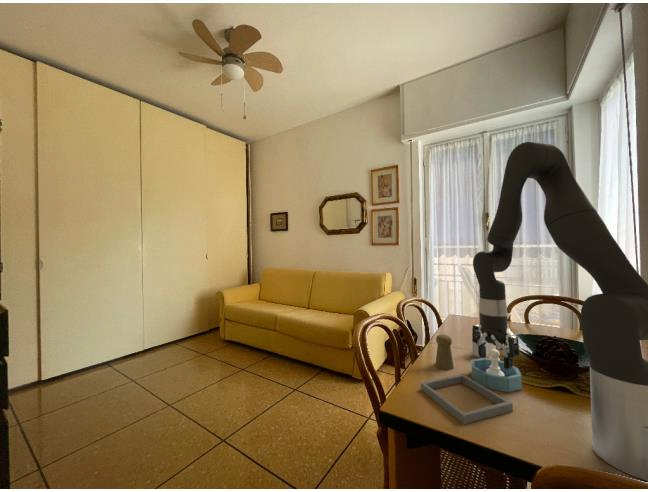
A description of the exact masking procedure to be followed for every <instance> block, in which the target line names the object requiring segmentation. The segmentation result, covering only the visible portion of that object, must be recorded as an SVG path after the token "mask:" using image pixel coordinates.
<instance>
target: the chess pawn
mask: <svg viewBox="0 0 648 492" xmlns="http://www.w3.org/2000/svg"><path fill="white" fill-rule="evenodd" d="M489 354H490V355H489V358H488V359H491V360H492V363H491V365H490V366H489V367H490V368H488V369H487V370H486V373H488V374H493V375H499V376H505V375H504V373H503V372H502V371H501V370H500V367H499V366H498V361H501V359H500V358H499V357H500V355H501V353H500V351H499V350H497V349H495V348H491V350H490V351H489Z"/></svg>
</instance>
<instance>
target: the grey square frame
mask: <svg viewBox="0 0 648 492" xmlns="http://www.w3.org/2000/svg"><path fill="white" fill-rule="evenodd" d="M462 383H463V384H464V385H466V386H467V387H469V388H471V389H472V390H473V391H475V392H478V394H480V395H482V396H483V397H485V398H487V399H489V400H490V401H492V402H493V403H495V404H492V405H488V406H484V407H480V408H476V409H473V410H469V411H466V412H465V411H464V412H463V411H462V410H461V409H460V408H458V407H457V405H454V404H453V403H452V402H450V401H449V400H448V399H446V398H445V397H444V396H443V395H441V394H440V393H439V392H438V391H436V390H434V389H439V388H443V387H448V386H449V387H450V386H454V385H457V384H462ZM420 390H421V391H422V392H423V393H425V394H426V395H427V396H428V397H430V398H431V399H432V400H434V402H436V403H437V404H439V406H441V407H442V408H443V409H444V410H446V411H447V412H448V413H449V414H450V415H452V416H453V417H454V418H455V419H457V420H458V421H459V422H460V423H462V424H463V425H466V424H470V423H475V422H477V421H480V420H485V419H488V418H492V417H497V416H500V415H503V414H507V413H510V412H513V410H514V409H513V402H511V401H509V400H508V399H506V398H504V397H502V396H501V395H499V394H497V393H496V392H494V391H492V390H491V389H490V388H487V387H485V386H483V385H481V384H480V383H478V382H476V381H474V380H473V379H472V378H470V377H468V376H467V375H464V374H456V375H452V376H448V377H443V378H442V377H441V378H437V379H433V380H432V379H431V380H426V381H423V382H420Z"/></svg>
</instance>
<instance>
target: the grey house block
mask: <svg viewBox="0 0 648 492" xmlns="http://www.w3.org/2000/svg"><path fill="white" fill-rule="evenodd" d="M482 335H483V334H482V333H481V336H482ZM476 338H477V336H476ZM471 345H472V349H471V351H472V352H471V353H472V356H475V357H477V358H480V357H479V354H478V345H477V344H476V343H474V342H473V341H472V340H471ZM484 346H486V357H488V356H490V354H489V351H490V350H491V349H492V343H486V345H484Z"/></svg>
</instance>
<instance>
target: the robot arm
mask: <svg viewBox="0 0 648 492" xmlns="http://www.w3.org/2000/svg"><path fill="white" fill-rule="evenodd" d="M528 179H533V180H535V181H536V183H537V184H538V185H539V187H540V189H541V190H542V192H543V195H544V197H545V206H544V209H543V210H544V212H543V222H544V225H545V228H546V230H547V231H548V233H549V235H550V237H551V238H552V241H553V242H554V244H555V245H556V247H557V248H558V249H559V250H560V251H561V252H563V254H565V255H566V256H567V257H569V258H570V260H572V261H574V262H575V263H576V264H577V265H579V267H581V268H583V270H585V271H586V272H587V273H588V274H589V275H590V276H591V277H592V278H593V280H594V281H595V283H596V284H597V286H598V288H599V290H600V291H601V293H596V294H593V295H590V296H588V297H587V298H586V299H585V300H584V301H583V303H582V305H581V309H580V324H581V334H582V342H583V343H582V345H583V348H584V351H585V353H586V356H587V357H588V358H587V359H588V360H589V361H588V362H589V379H590V382H589V383H590V414H591V440H592V442H591V444H592V449H593V452H594V453H595V454H596V455H597V456H598V457H599V458H600V459H602V461H604V462H605V463H607V464H609V465H610V466H612V467H614V468H615V469H617V470H618V471H619V470H620V471H621V472H623V473H625V474H628V475H630V476H633V477H636V478H639V479H642V480H644V481H646V482H647V483H648V359H645V358H644V357H643V353H642V352H643V351H642V346H641V341H648V283H647V281H646V280H645V279H644V278H643V277H642V276H641V275H640V273H639V272H638V271H637V270H636V269H635V267H634V266H633V264H632V263H631V262H630V260H629V258H628V257H627V256H626V254H625V253H624V252H623V250H622V248H621V247H620V245H619V243H618V242H617V241H616V239H615V238H614V236H612V234H611V232H610V230H609V228H608V227H607V225H606V223H605V222H604V219H602V217H601V216H600V214H599V212H598V211H597V209H596V208H595V207H594V206H593V204H592V202H591V201H590V200H589V198H588V197H587V195H586V193H585V191H584V190H583V189H582V187H581V186H580V184H579V183H578V181H577V179H576V177H575V176H574V174H573V171H572V169H571V166H570V165H569V162H568V159H567V157H566V156H565V153H564V152H563V150H562V149H561V148H560V147H559V146H557V145H555V144H552V143H546V142H545V143H544V142H538V141H537V142H536V141H525V142H522V143H520V144H517V146H515V147H514V148H513V149H512V150H511V152H510V154H509V156H508V158H507V161H506V165H505V169H504V174H503V179H502V184H501V188H500V189H501V190H500V195H499V200H498V206H497V209H496V213H495V216H494V218H493V221H492V224H491V226H490V229H489V231H488V233H487V238H486V241H487V242H488V243H489V244H490V245H492V246H493V247H492V250H483V251H482V250H481V251H479V252H477V253H476V254H475V255H474V257H473V259H472V267H473V270H474V275H475V277H476V280H477V283H478V286H479V289H478V290H479V301H478V302H479V304H478V314H479V315H478V317H479V324H475V325H472V327H471V328H472V337H471V338H472V339H471V342H472V341H473V342H474V343H476V344H477V345H478V354H479V357H478V358H479V359H480V358H486V359H487V356H486V346H484V345H486V343H491V345H493V346H495V347H497V348H498V351H499V350H500V351H501V353H502V354H503V362H504V368H505V369H511V368H512V367H513V366H514V365H513V363H514V362H513V360H514V359H513V358H519V357H520V355H521V354H520V346H519V337H518V336H517V335H515V336H509V335H508V334H507V332H506V331H507V328H508V326H509V322H508V319H507V313H508V306H507V304H508V303H507V299H506V298H507V297H506V295H507V294H506V284H505V283H504V282H503V281H502V280H499V279H497V278H496V276H495V273H501V272H502V273H503V272H505V271H506V270H507V269H508V268H509V267H510V265H511V263H512V261H513V253H514V243H515V240H516V238H517V236H518V234H519V231H520V229H521V226H522V222H523V209H522V193H523V190H524V189H523V188H524V186H525V184H526V182H527V181H528ZM481 333H482V334H483V335H482V336H481ZM476 336H477V338H476Z"/></svg>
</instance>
